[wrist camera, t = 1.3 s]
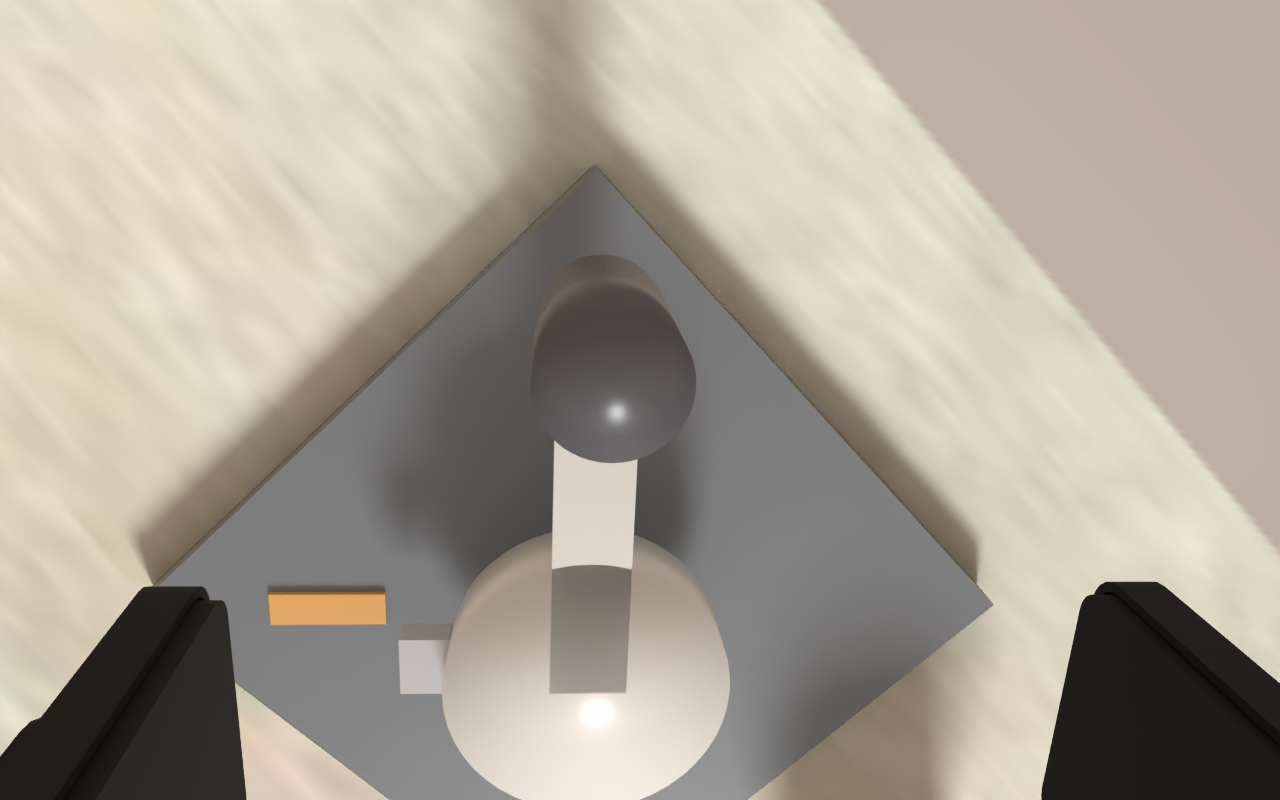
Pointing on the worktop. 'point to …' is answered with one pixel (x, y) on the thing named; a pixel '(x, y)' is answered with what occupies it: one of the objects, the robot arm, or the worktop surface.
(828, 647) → the post base
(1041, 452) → the worktop surface
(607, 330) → the lever handle
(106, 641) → the robot arm
